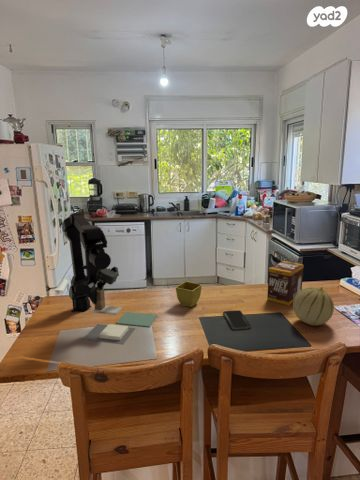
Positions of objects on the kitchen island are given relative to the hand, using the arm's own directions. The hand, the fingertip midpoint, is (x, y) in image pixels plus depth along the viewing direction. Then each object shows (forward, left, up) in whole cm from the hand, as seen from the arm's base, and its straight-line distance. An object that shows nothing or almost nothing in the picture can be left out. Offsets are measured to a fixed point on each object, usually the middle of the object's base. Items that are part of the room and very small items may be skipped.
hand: (96, 302), depth 125 cm
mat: (+5, -2, -12) cm, 13 cm away
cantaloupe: (+79, +24, -12) cm, 84 cm away
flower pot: (+28, +31, -12) cm, 44 cm away
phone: (+50, +20, -12) cm, 56 cm away
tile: (+3, -2, -10) cm, 11 cm away
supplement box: (+70, +48, -12) cm, 86 cm away
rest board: (+11, +11, -12) cm, 20 cm away
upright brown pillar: (+4, 0, -3) cm, 5 cm away
